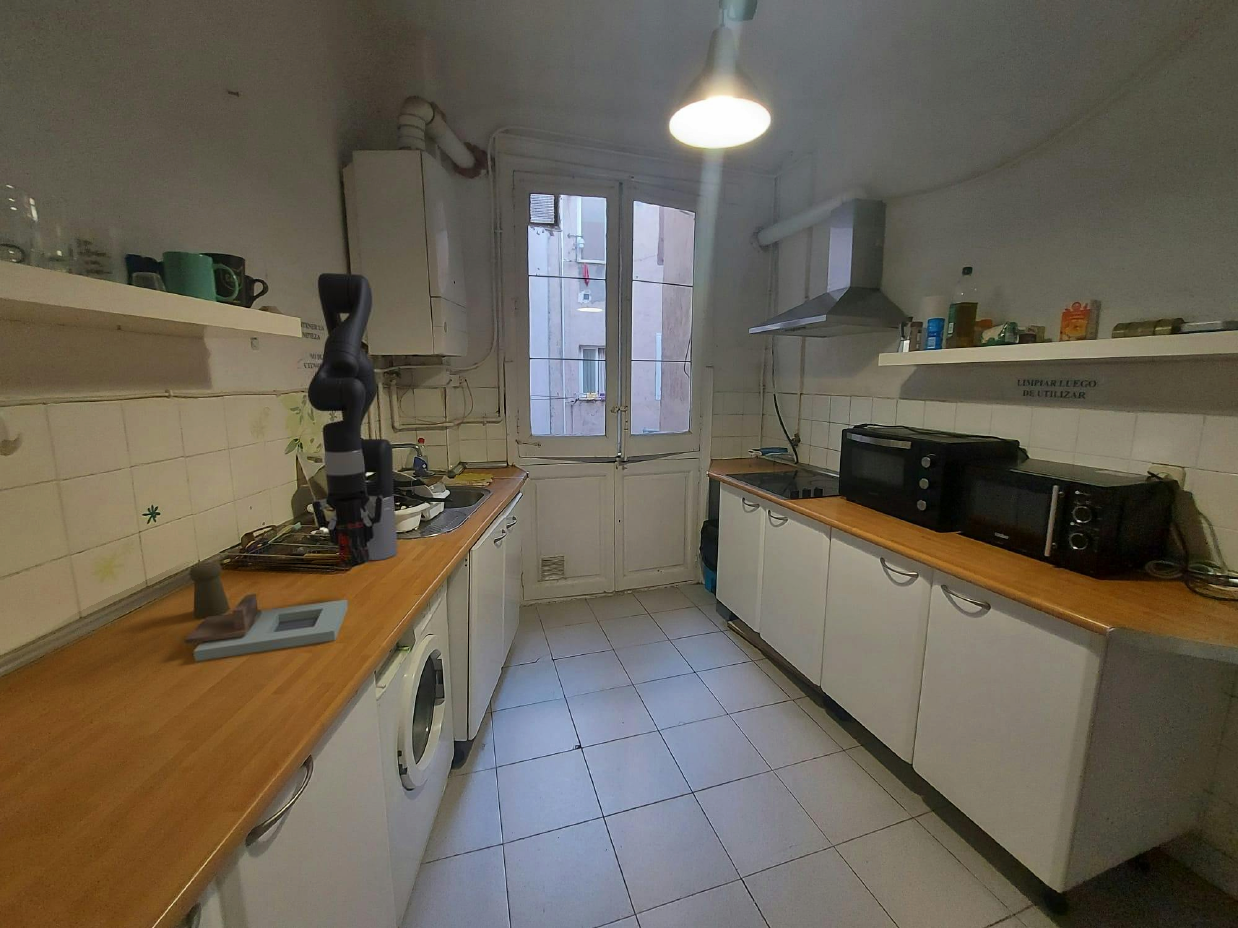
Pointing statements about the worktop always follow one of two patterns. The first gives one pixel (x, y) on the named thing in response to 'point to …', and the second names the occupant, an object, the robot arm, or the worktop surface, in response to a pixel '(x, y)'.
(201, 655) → the socket board
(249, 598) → the cover
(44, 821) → the worktop surface
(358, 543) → the deodorant
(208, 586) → the cork
